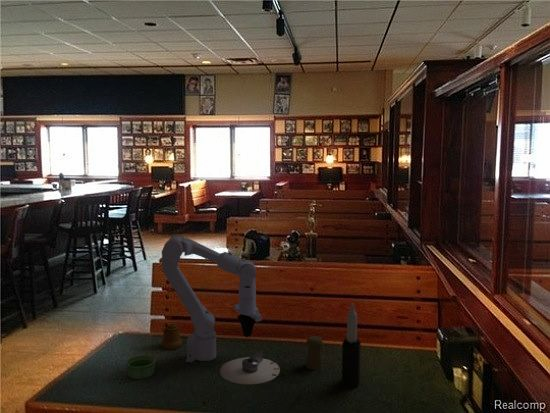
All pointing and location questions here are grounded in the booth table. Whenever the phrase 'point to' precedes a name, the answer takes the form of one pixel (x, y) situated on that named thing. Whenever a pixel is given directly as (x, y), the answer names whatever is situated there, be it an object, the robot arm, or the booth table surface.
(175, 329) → the ornamental finial
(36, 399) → the booth table surface
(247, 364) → the dial pointer
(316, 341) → the cork
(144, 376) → the ramekin
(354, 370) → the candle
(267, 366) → the dial plate
